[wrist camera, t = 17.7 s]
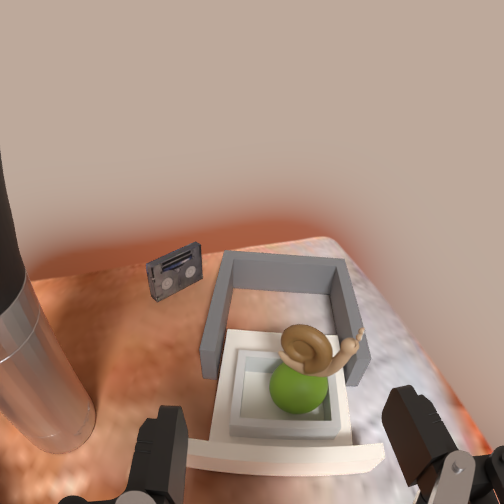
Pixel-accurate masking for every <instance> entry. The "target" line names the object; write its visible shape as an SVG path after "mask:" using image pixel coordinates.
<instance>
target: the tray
mask: <svg viewBox="0 0 504 504" xmlns="http://www.w3.org/2000/svg"><path fill="white" fill-rule="evenodd" d="M281 335H282V333H274V332H259V331H246V330H235V329H228V330H227V335H226V341H225V347H224V353H223V359H222V364H221V370H220V376H219V382H218V388H217V394H216V400H215V406H214V412H213V418H212V424H211V430H210V436H209V441H206V440H199V439H192V438H188V451H187V462H186V467H190V468H196V469H203V470H210V471H218V472H227V473H237V474H249V475H265V476H328V475H345V474H356V473H366V472H370V471H371V470H372V469H373V468H374V467H376V466H377V465H378V464H379V463H380V462H381V461H382V460H383V459H385V453H384V447H383V443H378V444H368V445H355V446H353V442H352V433H351V424H350V416H349V408H348V400H347V393H346V386H345V379H344V372H343V367H342V368H341V369H340V370H339V371H338V372H336V373H335V374H333V375H331V376H328V377H327V380H328V390H327V394H326V397H325V399H324V400H323V402H322V403H321V404H320V405H319V406H318V407H317V408H316V409H314V410H313V411H311V412H308V413H305V414H291V413H287V412H285V411H283V410H281V409H280V408H279V407H278V406H277V405H276V404H275V403H274V402H273V400H272V398H271V395H270V391H269V383H270V379H271V376H272V374H273V372H274V371H275V369H276V368H277V367H278V366H279V365H280V364H282V363H283V361H282V359H281V358H280V356H279V354H278V352H279V351H284V350H283V348H282V346H281ZM325 336H326V337H327V338H328V340H329V342H330V343H331V346H332V349H333V357H334V356H335V355H336V354H337V353H338V351H339V350H340V346H339V340H338V335H325Z"/></svg>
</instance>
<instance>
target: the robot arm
mask: <svg viewBox="0 0 504 504" xmlns="http://www.w3.org/2000/svg"><path fill="white" fill-rule="evenodd" d="M0 412H1V413H2V414H3V415H4V416H5V417H6V418H7V419H8V420H9V421H10V422H11V423H12V424H13V425H14V426H15V427H16V428H17V429H18V430H19V431H20V432H21V433H22V434H23V435H24V436H25V437H26V438H28V439H29V440H30V441H31V442H32V443H33V444H34V445H36V446H37V447H38V448H39V449H41V450H43V451H45V452H49V453H53V454H63V453H67V452H71V451H73V450H75V449H77V448H78V447H80V446H81V445H82V444H83V443H85V441H86V440H87V439H88V438H89V436H90V434H91V432H92V430H93V428H94V424H95V415H96V413H95V408H94V404H93V402H92V400H91V398H90V396H89V395H88V393H87V392H86V390H85V388H84V387H83V385H82V384H81V382H80V380H79V378H78V377H77V375H76V373H75V372H74V370H73V368H72V366H71V365H70V363H69V361H68V359H67V357H66V356H65V354H64V352H63V350H62V348H61V346H60V344H59V343H58V341H57V339H56V337H55V335H54V333H53V331H52V329H51V327H50V325H49V322H48V320H47V318H46V316H45V314H44V312H43V310H42V307H41V305H40V303H39V301H38V298H37V296H36V294H35V292H34V289H33V287H32V284H31V282H30V279H29V277H28V274H27V272H26V269H25V266H24V264H23V261H22V258H21V255H20V252H19V248H18V244H17V238H16V233H15V227H14V222H13V218H12V213H11V209H10V204H9V200H8V196H7V192H6V187H5V181H4V176H3V169H2V161H1V153H0ZM382 423H383V426H384V429H385V431H386V434H387V436H388V438H389V441H390V443H391V446H392V448H393V450H394V453H395V455H396V458H397V460H398V463H399V465H400V468H401V470H402V473H403V475H404V478H405V480H406V483H407V485H408V487H410V486H413V485H416V484H418V486H419V489H418V491H417V493H416V496H415V499H414V502H413V504H499V502H500V504H504V446H500V447H498V448H496V449H495V450H494V451H493V453H492V454H489V455H482V456H471V455H470V454H469V453H468V452H466V451H461V450H459V449H458V448H457V447H456V445H455V443H454V441H453V439H452V437H451V436H450V434H449V432H448V430H447V428H446V427H445V425H444V423H443V421H441V418H440V416H439V414H437V411H436V409H435V407H434V406H433V404H432V402H431V401H430V400H428V399H427V398H426V397H425V396H423V395H417V393H416V391H415V390H414V388H413V387H412V386H411V385H406V386H402V387H397V388H393V389H392V390H391V392H390V394H389V397H388V399H387V402H386V404H385V406H384V409H383V411H382ZM187 451H188V429H187V425H186V422H185V418H184V415H183V411H182V408H181V406H164V405H161V406H160V408H159V412H158V417H157V419H151V418H147V419H146V421H145V422H144V423H143V425H142V426H141V427H140V429H139V433H138V437H137V443H136V446H135V452H134V455H133V460H132V465H131V470H130V474H129V479H128V484H127V487H126V489H125V491H124V492H123V493H122V494H121V495H120V496H119V497H117V498H115V499H112V500H105V501H93V502H87V501H86V500H85V499H83V498H82V497H79V496H67V497H65V498H63V499H62V500H61V501H60V502H59V503H58V504H183V499H184V486H185V474H186V462H187ZM493 489H494V490H495V492H496V495H497V497H498V500H499V502H498V500H497V498H496V495H495V493H494V490H493Z"/></svg>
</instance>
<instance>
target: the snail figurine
mask: <svg viewBox="0 0 504 504" xmlns="http://www.w3.org/2000/svg"><path fill="white" fill-rule="evenodd" d="M358 333H359V334H357V335H356V339H354V338H346V339H344V340H343V341H342V342H341V346H340V350H339V351H338V353H337V354H336V355H335V356H334V357H333V349H332V346H331V343H330V342H329V340H328V338H327V337H326V336H325V335H324V334H323V333H322V332H320V331H319V330H317V329H316V328H313V327H311V326H308V325H302V324H297V325H292V326H290V327H288V328H287V329H286V330H284V332H283V333H282V335H281V346H282V348H283V350H284V351H279V352H278V354H279V356H280V358H281V359H282V361H283V363H282V364H280V365H279V366H278V367H277V368H276V369H275V371H274V372H273V374H272V376H271V379H270V383H269V391H270V395H271V398H272V400H273V402H274V403H275V404H276V405H277V406H278V407H279V408H280V409H281V410H283V411H285V412H287V413H291V414H305V413H308V412H311V411H313V410H314V409H316V408H317V407H318V406H319V405H320V404H321V403H322V402H323V400H324V399H325V397H326V394H327V390H328V380H327V377H328V376H331V375H333V374H335V373H336V372H338V371H339V370H340V369H341V368H342V367H343V366H344V365H345V364H346V363H347V362H348V361H349V359H350V358H351V356H352V355H354V354H356V352H357V350H358V349H359V343H358V342H359V341H361V340H362V339H363V334H364V333H365V329H364V328H363V327H362V328H360V329H359V330H358Z"/></svg>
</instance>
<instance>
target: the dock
mask: <svg viewBox="0 0 504 504" xmlns="http://www.w3.org/2000/svg"><path fill="white" fill-rule="evenodd" d="M233 288H241V289H254V290H268V291H282V292H297V293H313V294H330V299H331V304H332V310H333V315H334V321H335V327H336V332H337V335H338V340H339V346H341V342H342V341H343V340H344V339H346V338H354V339H356V335H357V334H359V333H358V330H359V329H360V328H362V327H363V323H362V319H361V315H360V312H359V308H358V304H357V301H356V297H355V294H354V290H353V286H352V283H351V280H350V276H349V273H348V269H347V266H346V263H345V259H338V258H325V257H311V256H297V255H283V254H270V253H256V252H242V251H228V250H225V251H224V254H223V258H222V262H221V266H220V270H219V274H218V277H217V281H216V285H215V289H214V293H213V297H212V301H211V305H210V309H209V313H208V317H207V321H206V325H205V329H204V333H203V337H202V341H201V345H200V349H199V351H200V359H201V367H202V374H203V378H204V379H213V380H217V376H218V370H219V364H220V359H221V353H222V347H223V342H224V336H225V331H226V325H227V320H228V314H229V308H230V303H231V298H232V292H233ZM363 328H364V327H363ZM358 343H359V349H358V350H357V352H356V354H354V355H352V356H351V358H350V359H349V361H348V362H347V363H346V364H345V365H344V366H343V372H344V379H345V386H358V384H359V382H360V380H361V378H362V376H363V374H364V372H365V371H366V369H367V367H368V365H369V362H370V360H371V355H370V351H369V347H368V343H367V339H366V335H365V333H364V334H363V339H362V340H361V341H359V342H358Z"/></svg>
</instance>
